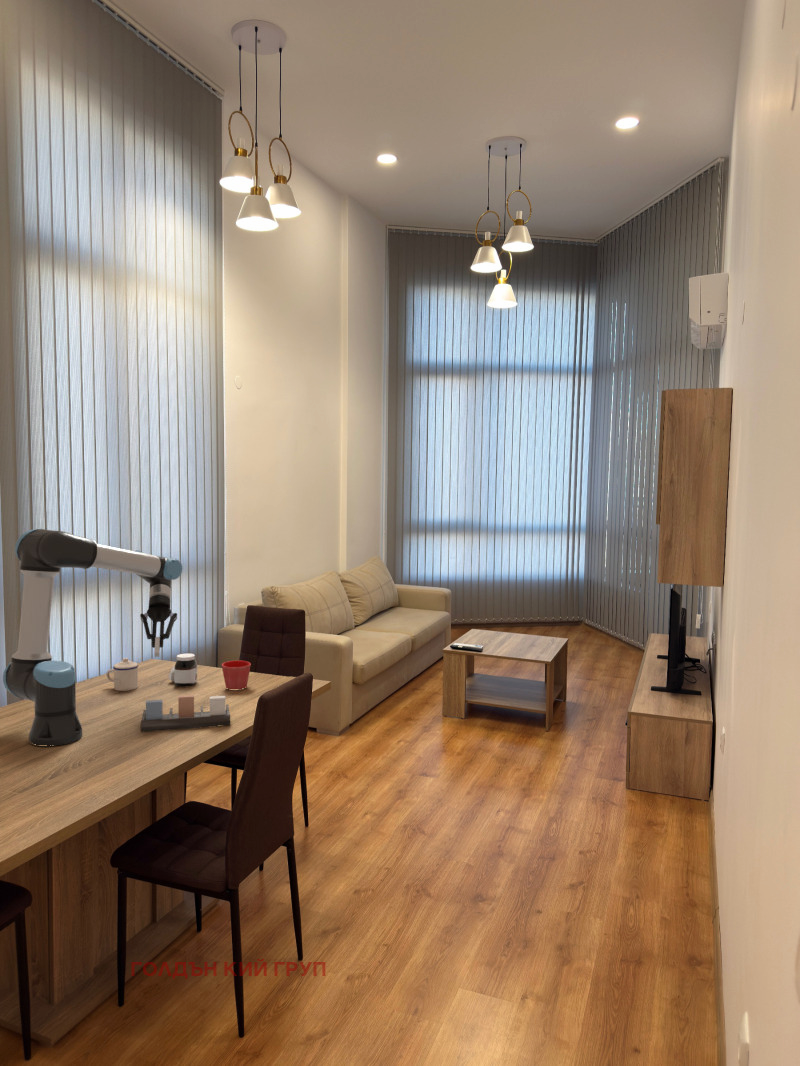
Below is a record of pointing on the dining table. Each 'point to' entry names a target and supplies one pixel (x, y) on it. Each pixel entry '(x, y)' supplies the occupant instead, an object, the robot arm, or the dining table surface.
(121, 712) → the dining table surface
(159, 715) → the key slate
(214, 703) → the key offwhite
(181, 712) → the key terracotta
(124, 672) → the teacup with lid
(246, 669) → the flower pot
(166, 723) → the grey compartment tray
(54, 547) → the robot arm
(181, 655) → the spread jar
